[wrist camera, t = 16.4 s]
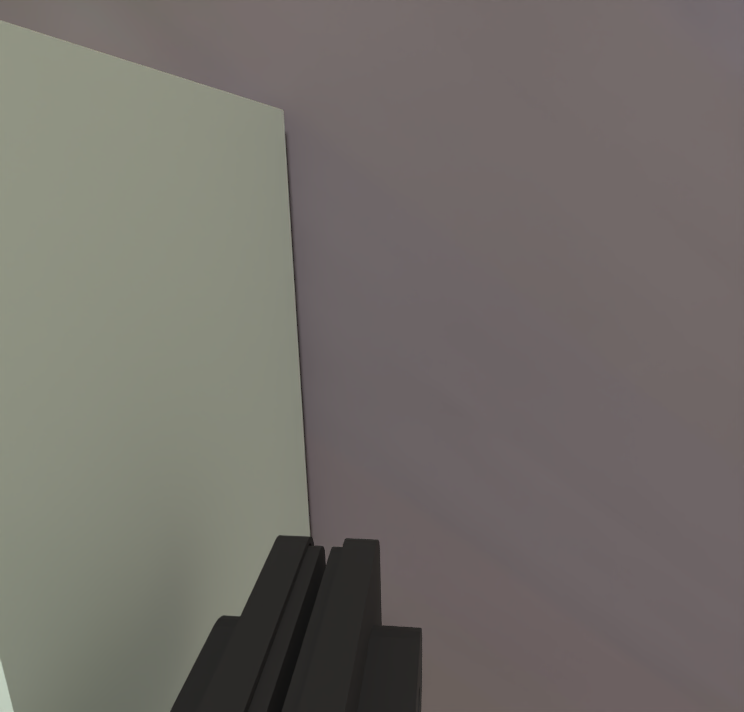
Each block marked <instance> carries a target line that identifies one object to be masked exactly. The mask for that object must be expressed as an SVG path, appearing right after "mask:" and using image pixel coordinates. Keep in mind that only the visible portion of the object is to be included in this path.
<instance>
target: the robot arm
mask: <svg viewBox="0 0 744 712" xmlns="http://www.w3.org/2000/svg"><path fill="white" fill-rule="evenodd" d="M421 694H422V629H421V628H413V627H397V626H382V622H381V581H380V546H379V540H372V539H350V538H346V539H345V541H344V544H343V547H332V549H331V551H330V555H329V558H328V561H327V564H325V550H324V547H323V546H314V542H313V539H312V537H308V536H287V535H279V536H277V538H276V540H275V542H274V544H273V546H272V548H271V551H270V553H269V555H268V557H267V559H266V561H265V564H264V566H263V568H262V570H261V572H260V574H259V577H258V579H257V581H256V583H255V585H254V587H253V590H252V592H251V594H250V596H249V598H248V601H247V603H246V605H245V607H244V609H243V611H242V614H241V616H226V615H223V616H221V617H220V618H218V620H217V621H216V623H215V624H214V626H213V628H212V630H211V632H210V634H209V636H208V638H207V640H206V642H205V644H204V646H203V648H202V649H201V651H200V653H199V655H198V657H197V659H196V661H195V663H194V665H193V667H192V669H191V671H190V673H189V675H188V677H187V679H186V681H185V683H184V685H183V687H182V689H181V691H180V693H179V695H178V697H177V699H176V701H175V703H174V705H173V707H172V708H171V710H170V712H421Z"/></svg>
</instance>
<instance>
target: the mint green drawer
mask: <svg viewBox="0 0 744 712" xmlns="http://www.w3.org/2000/svg"><path fill="white" fill-rule="evenodd" d="M279 535H287V536H308V537H310V525H309V509H308V493H307V477H306V462H305V446H304V430H303V414H302V398H301V382H300V366H299V350H298V334H297V318H296V303H295V287H294V271H293V255H292V239H291V223H290V207H289V191H288V175H287V160H286V144H285V128H284V112H283V110H282V109H279V108H276V107H272V106H269V105H266V104H263V103H260V102H257V101H253V100H250V99H247V98H244V97H241V96H238V95H235V94H231V93H228V92H225V91H222V90H219V89H216V88H212V87H209V86H206V85H203V84H200V83H197V82H193V81H190V80H187V79H184V78H181V77H178V76H175V75H171V74H168V73H165V72H162V71H159V70H156V69H152V68H149V67H146V66H143V65H140V64H137V63H133V62H130V61H127V60H124V59H121V58H118V57H115V56H111V55H108V54H105V53H102V52H99V51H96V50H92V49H89V48H86V47H83V46H80V45H77V44H74V43H70V42H67V41H64V40H61V39H58V38H55V37H51V36H48V35H45V34H42V33H39V32H36V31H32V30H29V29H26V28H23V27H20V26H17V25H14V24H10V23H7V22H4V21H1V20H0V712H170V710H171V708H172V707H173V705H174V703H175V701H176V699H177V697H178V695H179V693H180V691H181V689H182V687H183V685H184V683H185V681H186V679H187V677H188V675H189V673H190V671H191V669H192V667H193V665H194V663H195V661H196V659H197V657H198V655H199V653H200V651H201V649H202V648H203V646H204V644H205V642H206V640H207V638H208V636H209V634H210V632H211V630H212V628H213V626H214V624H215V623H216V621H217V620H218V618H220V617H221V616H223V615H226V616H241V614H242V611H243V609H244V607H245V605H246V603H247V601H248V598H249V596H250V594H251V592H252V590H253V587H254V585H255V583H256V581H257V579H258V577H259V574H260V572H261V570H262V568H263V566H264V564H265V561H266V559H267V557H268V555H269V553H270V551H271V548H272V546H273V544H274V542H275V540H276V538H277V536H279Z"/></svg>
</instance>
